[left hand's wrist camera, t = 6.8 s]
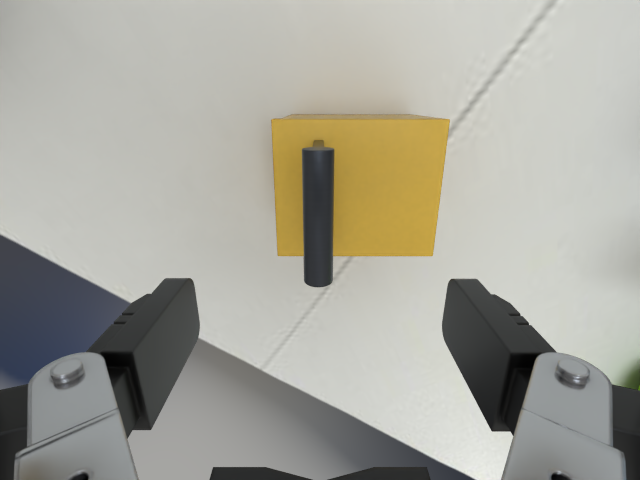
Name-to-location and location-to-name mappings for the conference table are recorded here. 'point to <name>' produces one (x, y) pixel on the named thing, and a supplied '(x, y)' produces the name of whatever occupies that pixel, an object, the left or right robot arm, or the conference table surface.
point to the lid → (356, 188)
